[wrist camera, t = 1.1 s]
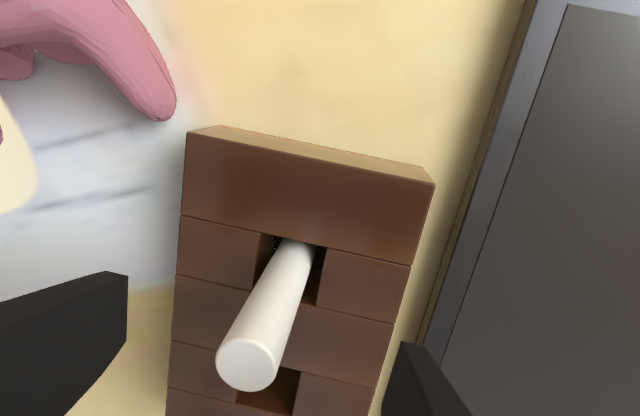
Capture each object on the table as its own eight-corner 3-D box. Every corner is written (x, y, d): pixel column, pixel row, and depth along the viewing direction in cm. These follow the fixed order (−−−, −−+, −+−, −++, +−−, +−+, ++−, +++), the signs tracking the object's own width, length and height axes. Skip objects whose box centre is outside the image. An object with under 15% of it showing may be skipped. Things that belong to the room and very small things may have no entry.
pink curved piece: (186, 25, 16) (30, -163, 9) (189, 126, 15) (19, 4, 8) (-10, 70, 17) (-267, -60, 11) (-17, 164, 16) (-302, 88, 10)
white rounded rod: (315, 259, 16) (271, 400, 9) (282, 251, 17) (210, 384, 9) (321, 228, 16) (280, 348, 8) (288, 220, 16) (217, 332, 8)
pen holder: (349, 428, 19) (346, 487, 16) (192, 389, 19) (162, 439, 17) (423, 167, 15) (436, 183, 12) (219, 124, 15) (185, 131, 12)
